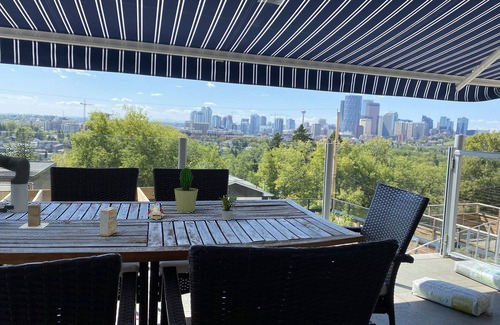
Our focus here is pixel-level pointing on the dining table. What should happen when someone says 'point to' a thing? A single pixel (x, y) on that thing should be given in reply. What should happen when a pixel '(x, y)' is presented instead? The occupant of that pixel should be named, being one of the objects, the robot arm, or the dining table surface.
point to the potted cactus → (186, 193)
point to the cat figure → (155, 212)
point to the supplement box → (108, 221)
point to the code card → (34, 227)
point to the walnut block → (34, 215)
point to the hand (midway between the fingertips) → (10, 208)
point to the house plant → (227, 207)
